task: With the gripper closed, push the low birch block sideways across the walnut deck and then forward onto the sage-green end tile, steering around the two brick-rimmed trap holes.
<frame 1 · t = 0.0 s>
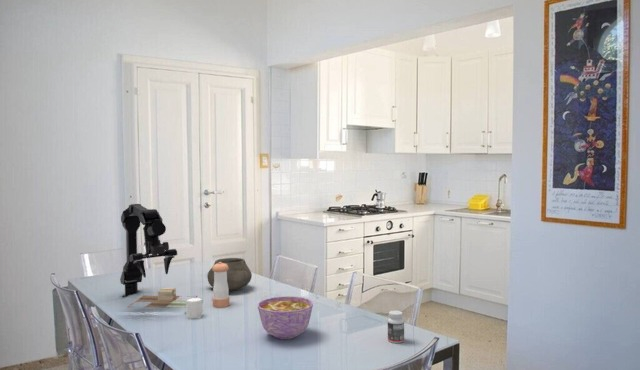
hand: (156, 275, 215), 15 cm above the table, tool pointing down, fingers open, 9 cm apart
white cylinder: (194, 316, 209), on the table
trap deck: (163, 304, 227), on the table
salt shaker: (221, 305, 225), on the table
bowl of food: (285, 335, 185), on the table
clay pot: (230, 290, 251), on the table
pill bottle: (396, 341, 178), on the table
birch block: (167, 298, 231), point 1 cm above the table, touching trap deck
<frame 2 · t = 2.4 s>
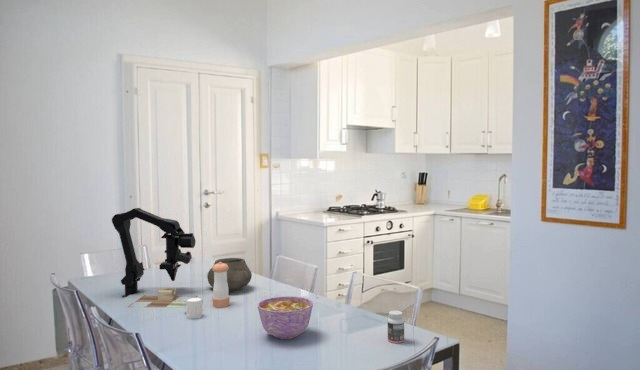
hand: (173, 280, 240), 7 cm above the table, tool pointing down, fingers closed
nothing on the table moved.
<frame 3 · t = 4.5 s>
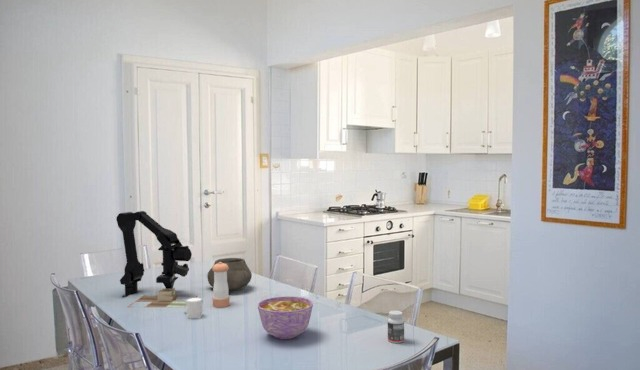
hand: (170, 293, 235), 3 cm above the table, tool pointing down, fingers closed
birch block: (166, 298, 231), point 2 cm above the table, touching gripper, trap deck
everything else where it was.
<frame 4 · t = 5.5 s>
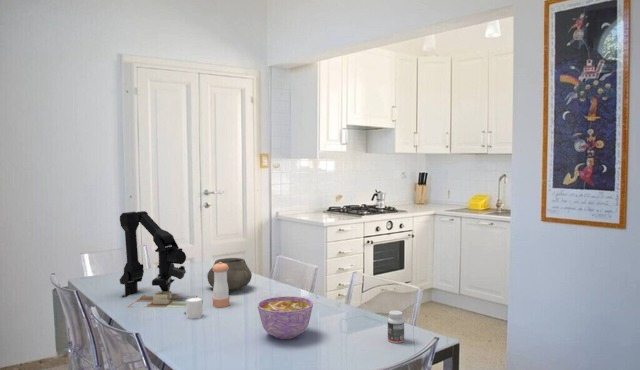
hand: (166, 296, 230), 3 cm above the table, tool pointing down, fingers closed
birch block: (162, 302, 226), point 1 cm above the table, touching gripper, trap deck
everything else where it was.
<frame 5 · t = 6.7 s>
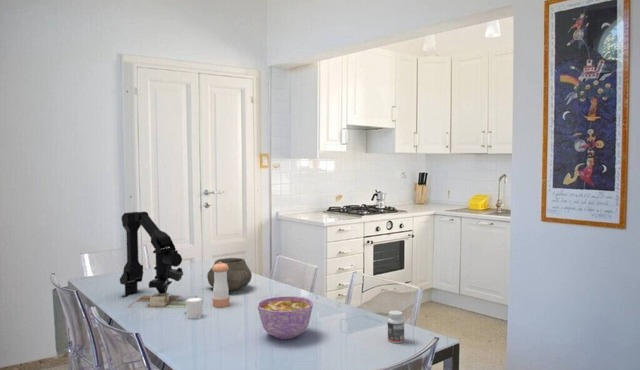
hand: (163, 298, 227), 3 cm above the table, tool pointing down, fingers closed
birch block: (159, 304, 222), point 1 cm above the table, touching gripper, trap deck
everything else where it was.
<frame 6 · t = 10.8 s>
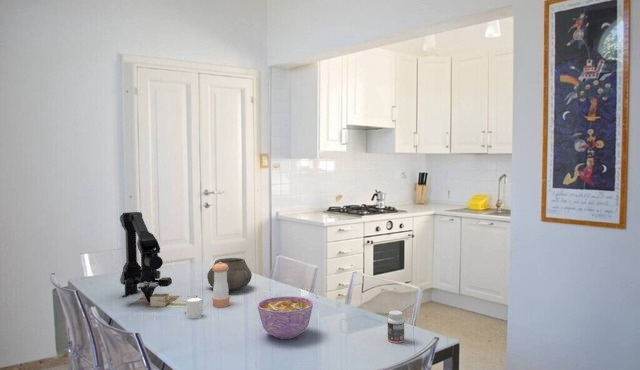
hand: (149, 301, 222), 3 cm above the table, tool pointing down, fingers closed
nothing on the table moved.
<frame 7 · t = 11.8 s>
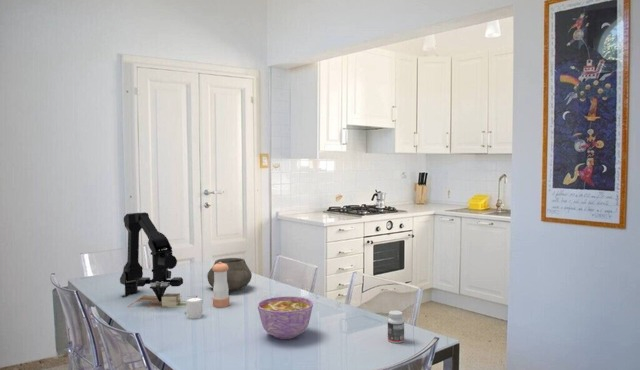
hand: (160, 301, 222), 3 cm above the table, tool pointing down, fingers closed
birch block: (171, 304, 222), point 1 cm above the table, touching gripper, trap deck
everything else where it was.
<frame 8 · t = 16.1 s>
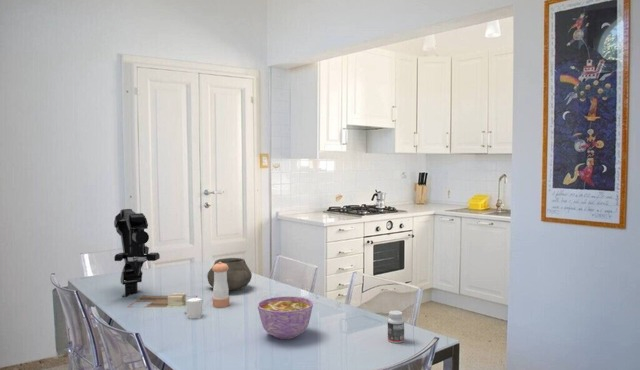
hand: (137, 275, 231), 12 cm above the table, tool pointing down, fingers closed
birch block: (177, 304, 222), point 1 cm above the table, touching trap deck
everything else where it was.
at the end: birch block inside the target area on the trap deck (0.9 cm from its centre), point 1.5 cm above the trap deck's base; birch block tilted 0° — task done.
